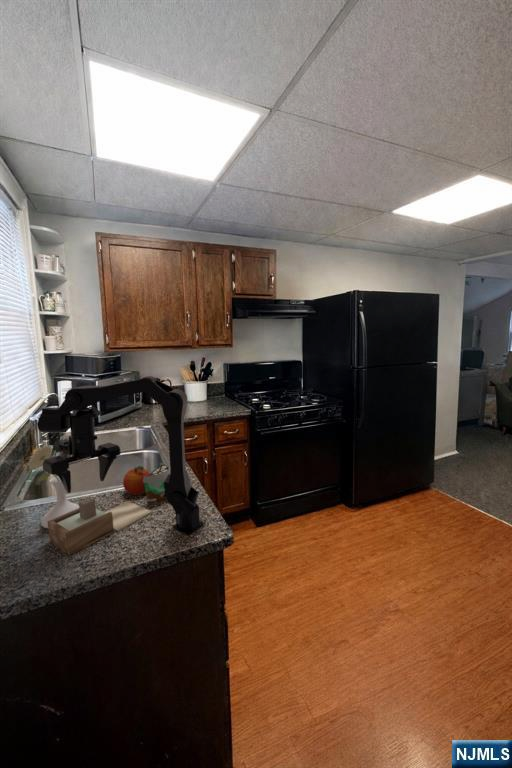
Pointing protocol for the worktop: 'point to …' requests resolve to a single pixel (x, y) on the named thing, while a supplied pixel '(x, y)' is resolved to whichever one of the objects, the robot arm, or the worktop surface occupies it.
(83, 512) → the lid
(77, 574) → the worktop surface
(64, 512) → the flower in vase
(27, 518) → the worktop surface
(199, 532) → the worktop surface
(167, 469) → the food container
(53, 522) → the box
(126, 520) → the mat
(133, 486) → the fruit
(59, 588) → the worktop surface
